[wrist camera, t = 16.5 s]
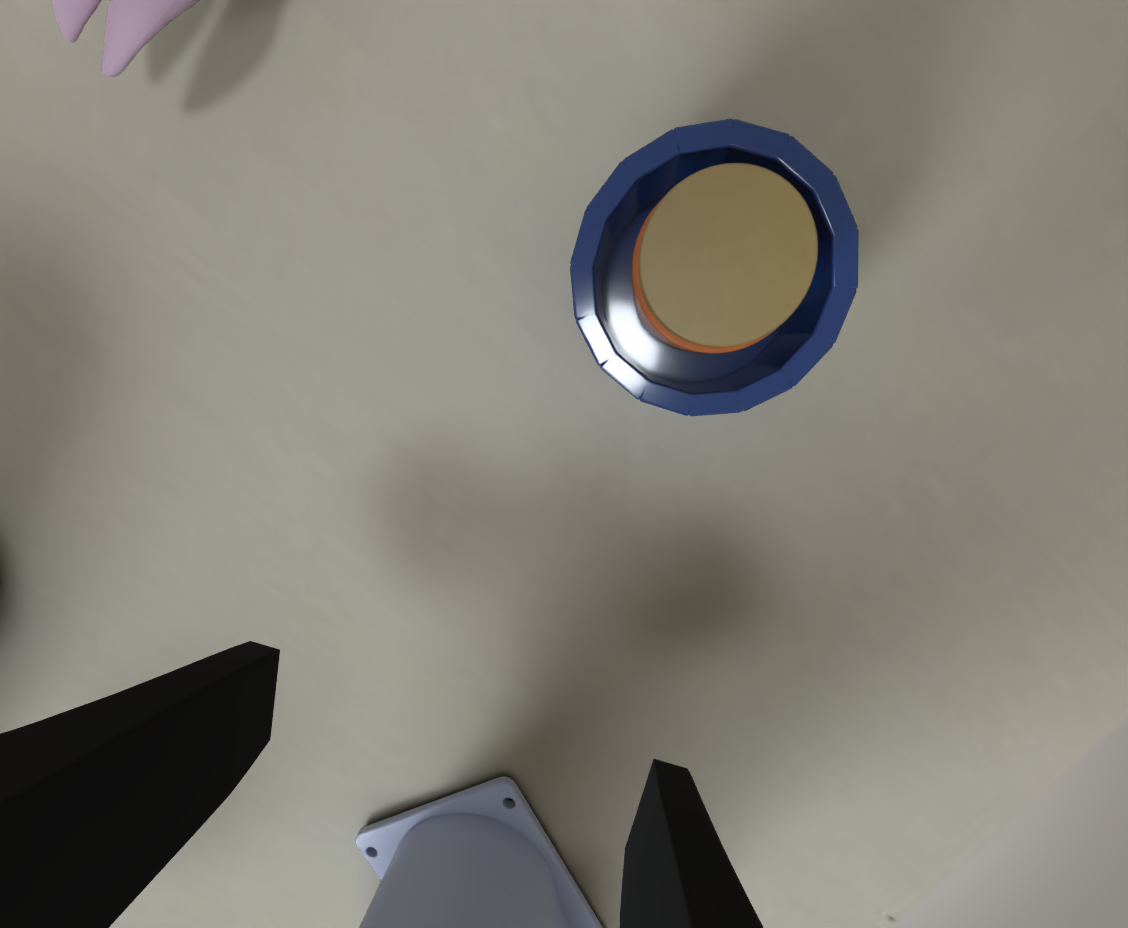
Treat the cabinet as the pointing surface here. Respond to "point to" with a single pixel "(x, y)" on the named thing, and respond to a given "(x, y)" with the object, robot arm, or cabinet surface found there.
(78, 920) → the robot arm
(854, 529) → the cabinet surface
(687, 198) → the cream-capped orange cylinder
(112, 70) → the pink toy
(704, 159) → the cup
